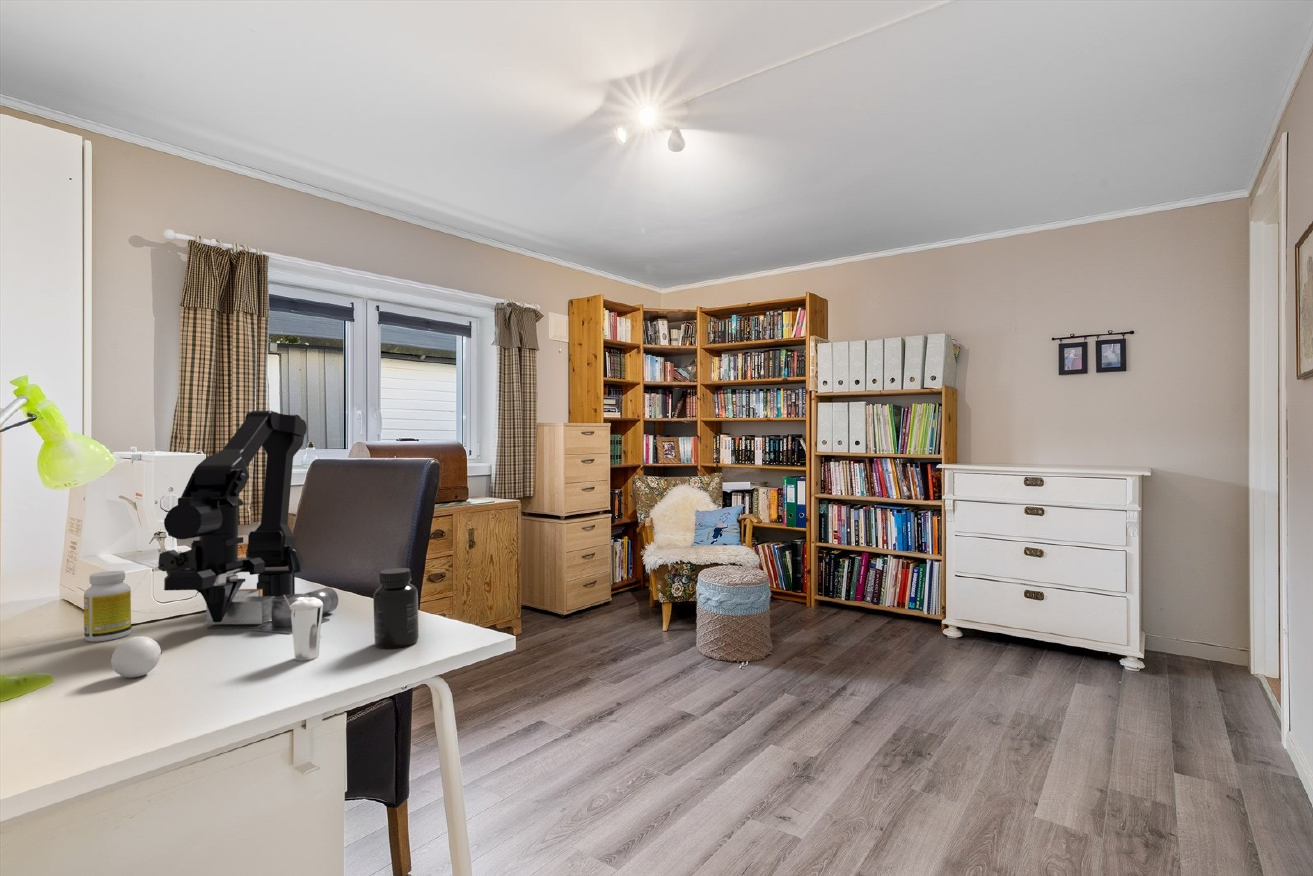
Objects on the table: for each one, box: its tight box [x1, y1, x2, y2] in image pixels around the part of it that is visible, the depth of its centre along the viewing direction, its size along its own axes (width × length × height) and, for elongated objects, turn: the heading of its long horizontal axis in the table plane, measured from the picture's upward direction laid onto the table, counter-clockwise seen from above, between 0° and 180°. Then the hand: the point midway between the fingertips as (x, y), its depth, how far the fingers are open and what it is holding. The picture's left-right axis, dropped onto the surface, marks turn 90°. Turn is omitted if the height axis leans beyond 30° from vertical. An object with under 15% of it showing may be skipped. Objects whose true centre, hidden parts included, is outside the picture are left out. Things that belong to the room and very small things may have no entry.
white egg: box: [110, 635, 163, 679], centre depth 94 cm, size 8×6×6 cm
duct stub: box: [249, 586, 339, 635], centre depth 121 cm, size 14×9×5 cm, turn 164°
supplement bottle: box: [372, 567, 420, 650], centre depth 107 cm, size 7×7×12 cm
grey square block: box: [205, 588, 275, 625], centre depth 121 cm, size 10×10×4 cm
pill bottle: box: [83, 570, 132, 643], centre depth 112 cm, size 6×6×11 cm
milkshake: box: [284, 595, 323, 662], centre depth 100 cm, size 4×5×10 cm
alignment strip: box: [207, 620, 271, 629], centre depth 119 cm, size 10×4×1 cm, turn 89°
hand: (217, 622), depth 115 cm, fingers closed
